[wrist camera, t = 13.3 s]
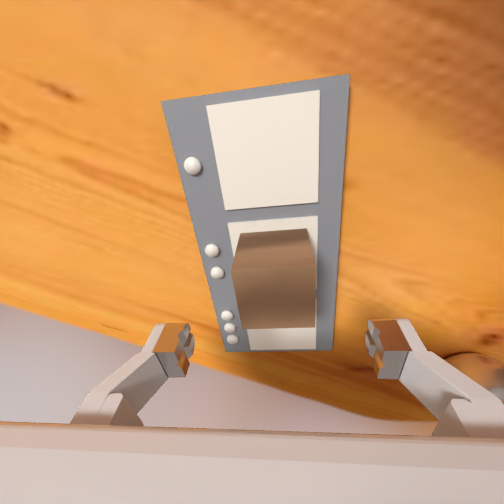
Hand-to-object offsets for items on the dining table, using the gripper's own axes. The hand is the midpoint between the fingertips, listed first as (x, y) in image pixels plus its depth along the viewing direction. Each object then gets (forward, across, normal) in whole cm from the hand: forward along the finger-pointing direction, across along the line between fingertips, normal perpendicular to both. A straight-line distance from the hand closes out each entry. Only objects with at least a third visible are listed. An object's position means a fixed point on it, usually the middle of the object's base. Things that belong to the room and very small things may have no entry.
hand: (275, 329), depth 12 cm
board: (+8, +1, +1) cm, 8 cm away
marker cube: (+7, 0, +1) cm, 7 cm away
